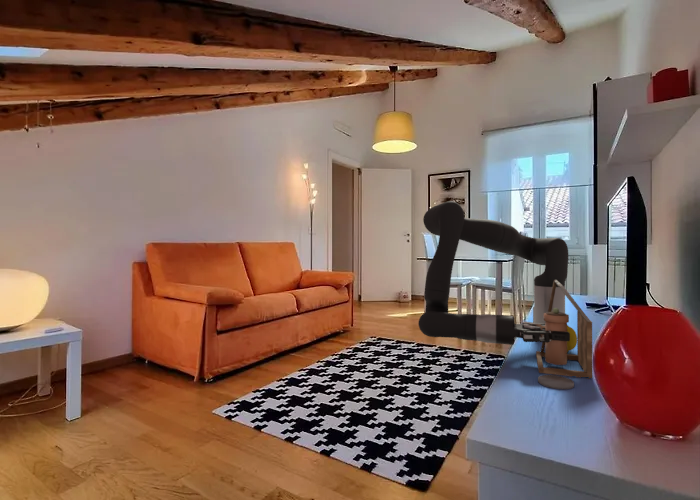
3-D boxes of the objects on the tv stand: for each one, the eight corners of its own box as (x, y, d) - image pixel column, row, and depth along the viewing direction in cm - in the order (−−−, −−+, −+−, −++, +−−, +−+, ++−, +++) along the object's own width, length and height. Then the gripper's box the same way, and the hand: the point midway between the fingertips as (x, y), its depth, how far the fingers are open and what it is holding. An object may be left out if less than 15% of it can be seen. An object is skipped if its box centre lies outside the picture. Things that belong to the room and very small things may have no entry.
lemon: (556, 348, 113) (556, 322, 113) (578, 351, 110) (577, 324, 110) (553, 353, 109) (553, 325, 109) (576, 356, 106) (576, 327, 106)
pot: (538, 359, 98) (538, 306, 98) (559, 358, 99) (559, 306, 99) (552, 365, 93) (552, 310, 93) (574, 364, 93) (574, 309, 93)
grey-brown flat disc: (531, 378, 88) (531, 375, 88) (560, 377, 89) (560, 374, 89) (550, 390, 81) (550, 386, 81) (581, 388, 82) (581, 384, 82)
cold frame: (536, 355, 107) (535, 279, 107) (581, 359, 102) (581, 280, 102) (539, 372, 92) (538, 284, 92) (592, 378, 88) (592, 285, 88)
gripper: (493, 319, 95) (572, 324, 88) (496, 310, 108) (565, 314, 101) (493, 349, 95) (572, 357, 88) (496, 336, 108) (565, 342, 101)
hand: (567, 334), depth 95 cm, fingers closed on pot, 4 cm apart
